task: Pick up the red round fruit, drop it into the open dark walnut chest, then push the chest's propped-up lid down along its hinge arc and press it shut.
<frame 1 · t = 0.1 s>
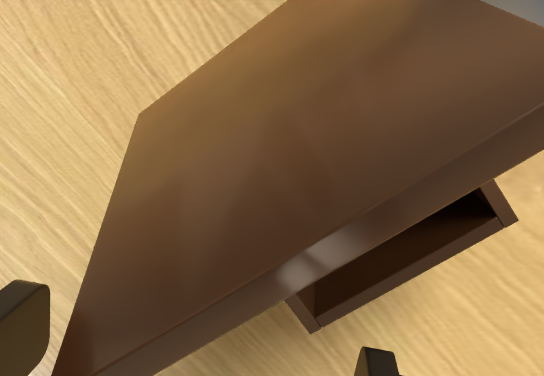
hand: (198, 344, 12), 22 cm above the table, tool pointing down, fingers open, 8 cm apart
chest: (328, 131, 31), on the table
lid: (258, 111, 14), point 18 cm above the table, hinge at 70.0°
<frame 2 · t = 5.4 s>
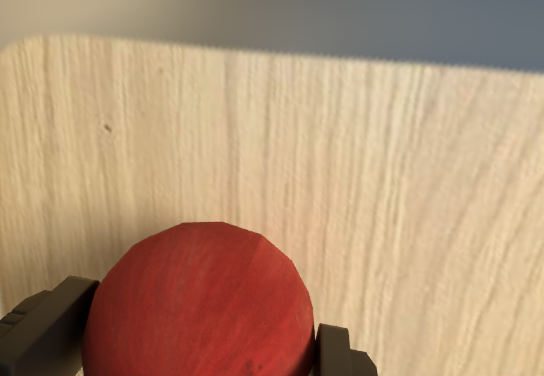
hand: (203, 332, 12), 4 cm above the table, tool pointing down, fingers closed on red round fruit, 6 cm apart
red round fruit: (231, 267, 16), on the table, touching gripper
when the fingers open (11 cm above the table, at t = 15.6 s): red round fruit drops 6 cm, resting on chest.
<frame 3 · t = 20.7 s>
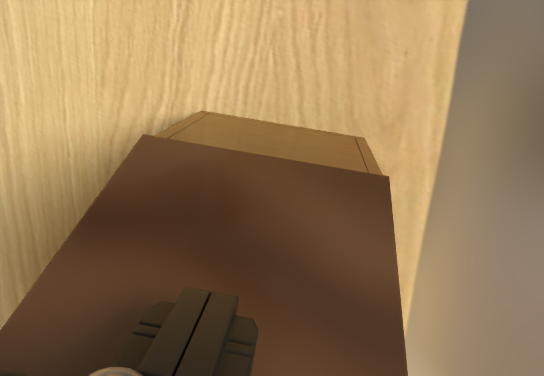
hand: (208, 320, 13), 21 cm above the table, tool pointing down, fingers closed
chest: (268, 214, 34), on the table
lid: (230, 275, 16), point 18 cm above the table, hinge at 69.7°, touching gripper
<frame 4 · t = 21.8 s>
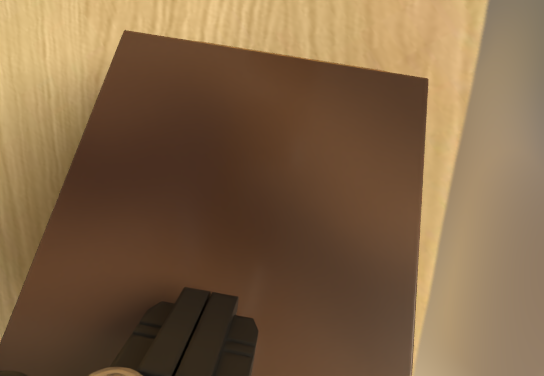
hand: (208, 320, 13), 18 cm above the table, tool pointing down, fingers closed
lid: (234, 237, 15), point 16 cm above the table, hinge at 40.6°, touching gripper
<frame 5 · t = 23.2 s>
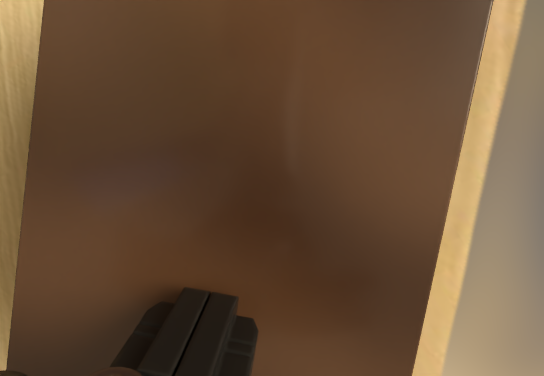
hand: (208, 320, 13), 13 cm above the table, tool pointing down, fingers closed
lid: (230, 208, 13), point 12 cm above the table, hinge at 10.2°, touching gripper
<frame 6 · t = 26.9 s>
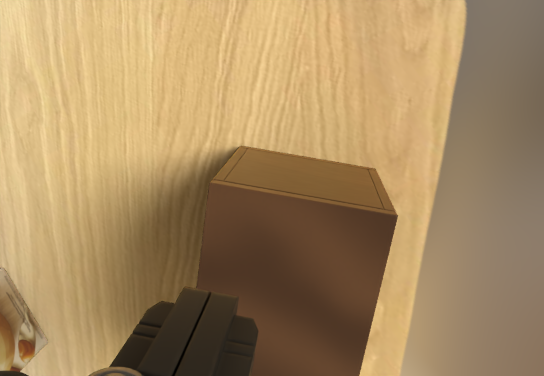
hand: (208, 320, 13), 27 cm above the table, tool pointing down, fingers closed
chest: (294, 230, 41), on the table
lid: (284, 300, 30), point 11 cm above the table, hinge at 1.3°
coffee box: (4, 313, 46), on the table
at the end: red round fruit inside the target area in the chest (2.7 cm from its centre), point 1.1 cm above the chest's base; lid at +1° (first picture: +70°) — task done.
